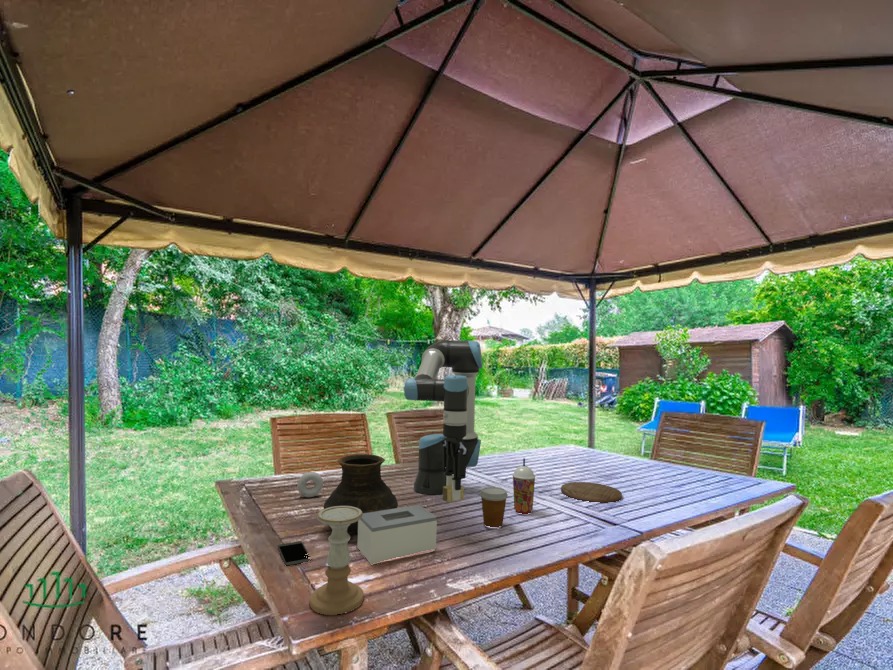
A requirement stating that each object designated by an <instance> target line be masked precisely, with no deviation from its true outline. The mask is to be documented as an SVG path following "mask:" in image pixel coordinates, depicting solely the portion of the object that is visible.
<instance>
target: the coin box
mask: <svg viewBox="0 0 893 670" xmlns="http://www.w3.org/2000/svg"><path fill="white" fill-rule="evenodd" d="M437 518H438V517H437V515H435V514H433V513H431V512H430V511H429V510H427V509H426V508H425V507H423V506H422V505H420V504H415V505H410V506H404V507H397V508H395V509H389V510H382V511H376V512H369V513H363V516H362V518H361V519H360V520H359V521H358V532H357V544H356V545H357V546H356V548H357V547H358V549H359V550H360V551H361V552H362V553H363V555H364V556H365V557H366V558H367V559H368V561H369V562H370V563H371V564H373V563H377V562H380V561H384V560H388V559H392V558H396V557H401V556H405V555H410V554H414V553H418V552H421V551H426V550H431V549H436V550H437V529H438V528H437V521H438V520H437ZM358 549H357V550H358ZM359 550H358V551H359ZM360 551H359V552H360ZM363 555H362V556H363ZM364 556H363V557H364ZM365 557H364V558H365ZM368 561H367V562H368ZM369 562H368V563H369Z"/></svg>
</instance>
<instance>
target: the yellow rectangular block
mask: <svg viewBox="0 0 893 670" xmlns="http://www.w3.org/2000/svg"><path fill="white" fill-rule="evenodd" d="M464 491H465V488H464V486H463V485H461V493H460V500H455V501H453V500H452V485H451V486H444V487H443V493H442V498H441V499H442V500H443V501H444V502H446V503H451V502H458V501H463V500H464V495H465V493H464Z"/></svg>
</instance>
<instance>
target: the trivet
mask: <svg viewBox="0 0 893 670" xmlns="http://www.w3.org/2000/svg"><path fill="white" fill-rule="evenodd" d="M560 491H561V494H563V496H565V495H566V497H567V496H568V497H567V498H569V497H570V499H572V498H574V499H573V500H575V499H577V500H576V501H579V500H582V501H581V502H584V501H589V502H588V503H591V502H600V503H599V504H609V503H608V502H614V503H617V502H616V501H618V502H620V501H621V500H622V497H623V493H622V491H620V490H619V489H617V488H615V487H613V486H609V485H605V484H602V483H597V482H596V483H595V482H588V481H587V482H586V481H574V482H567V483H563V484H562V485H561V486H560ZM619 500H620V501H619Z"/></svg>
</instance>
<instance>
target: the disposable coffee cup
mask: <svg viewBox="0 0 893 670" xmlns="http://www.w3.org/2000/svg"><path fill="white" fill-rule="evenodd" d="M479 495H480V498H481V507H482V509H481V511H482V518H483V525H484V524H485V525H486V526H490V527H499V526H502V525H504V517H505V512H506V505H507V504H506V503H507V499H508V495H509V494H508V492H507V490H506V489H504V488H502V487H499V486H498V487H496V486H486V487H483V488H481V490H480V493H479ZM502 527H503V526H502Z"/></svg>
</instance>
